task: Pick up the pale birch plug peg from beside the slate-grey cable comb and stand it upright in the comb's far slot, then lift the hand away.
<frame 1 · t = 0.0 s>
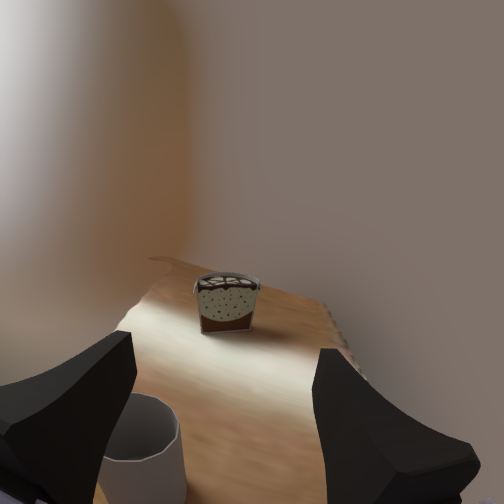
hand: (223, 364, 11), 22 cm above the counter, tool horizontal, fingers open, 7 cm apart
food container: (222, 325, 61), on the counter
cup: (145, 489, 23), on the counter
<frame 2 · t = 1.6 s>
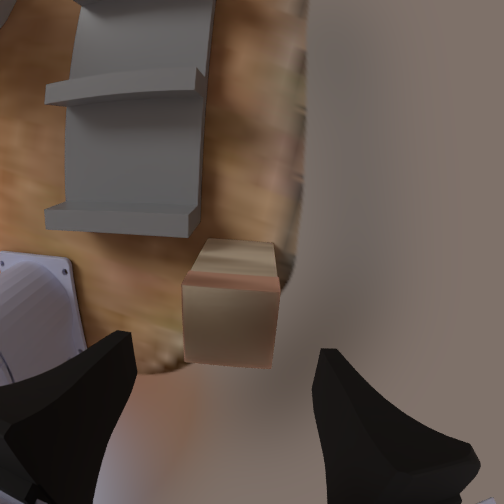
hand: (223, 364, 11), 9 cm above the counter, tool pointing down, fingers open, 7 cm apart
comb: (135, 92, 17), on the counter
peg: (238, 270, 20), on the counter
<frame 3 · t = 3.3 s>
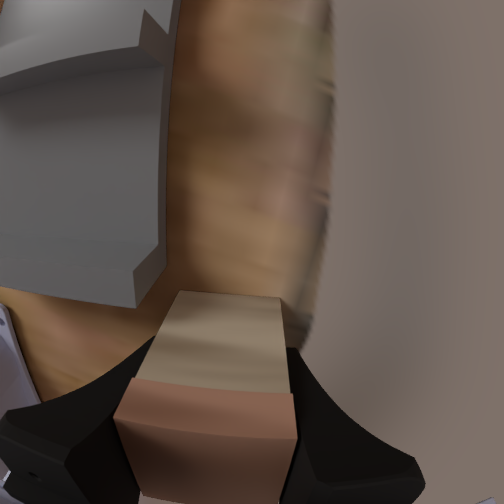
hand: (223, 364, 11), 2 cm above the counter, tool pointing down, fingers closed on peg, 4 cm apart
comb: (70, 70, 10), on the counter
peg: (227, 336, 13), on the counter, touching gripper
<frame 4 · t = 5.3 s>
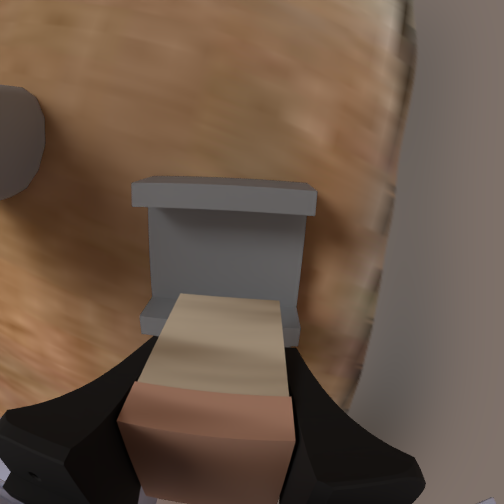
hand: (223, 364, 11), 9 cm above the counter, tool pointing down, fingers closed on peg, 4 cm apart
comb: (224, 303, 21), on the counter
peg: (228, 338, 13), point 7 cm above the counter, touching gripper
cup: (8, 141, 17), on the counter
when the fingers open (4 cm above the counter, at t = 7.2 s): peg drops 1 cm, resting on comb.
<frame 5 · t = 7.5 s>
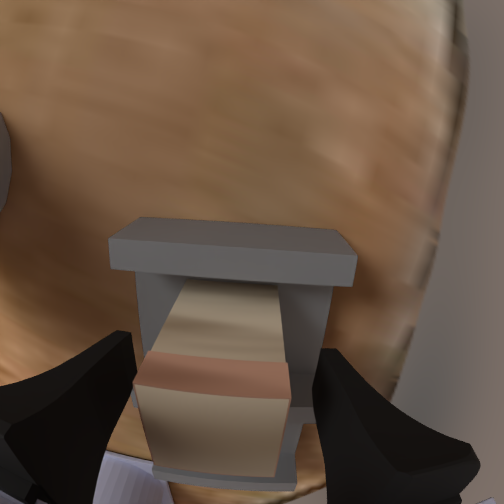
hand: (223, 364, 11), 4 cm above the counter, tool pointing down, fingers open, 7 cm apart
comb: (230, 366, 17), on the counter
peg: (230, 321, 15), point 1 cm above the counter, touching comb
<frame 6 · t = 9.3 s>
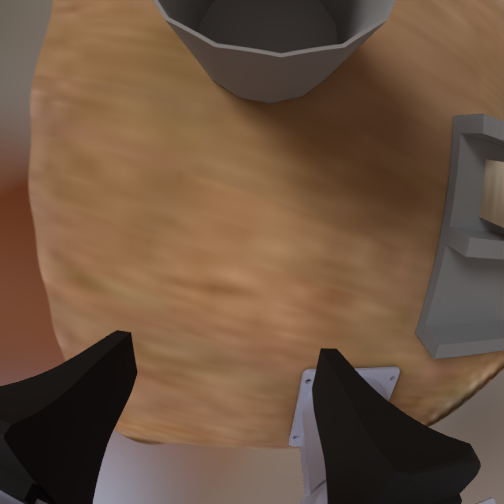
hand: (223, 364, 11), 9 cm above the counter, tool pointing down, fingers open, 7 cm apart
comb: (485, 236, 19), on the counter
peg: (501, 192, 17), point 1 cm above the counter, touching comb
cup: (267, 39, 16), on the counter
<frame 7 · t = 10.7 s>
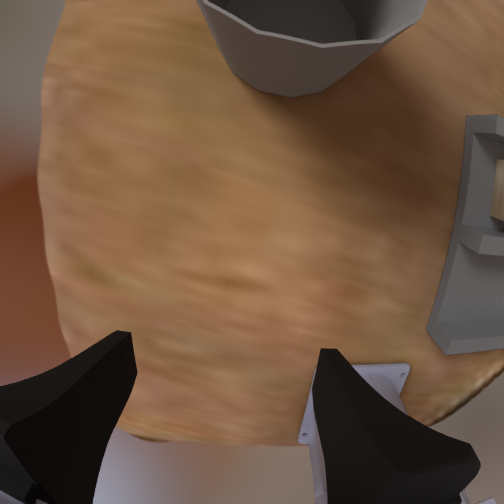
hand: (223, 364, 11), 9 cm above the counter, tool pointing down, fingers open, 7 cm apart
comb: (494, 235, 19), on the counter
cup: (288, 34, 16), on the counter
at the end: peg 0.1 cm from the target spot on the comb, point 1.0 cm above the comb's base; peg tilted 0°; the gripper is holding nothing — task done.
